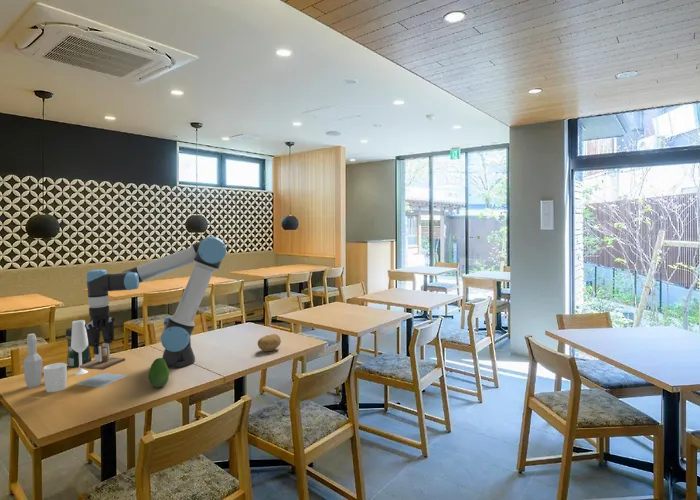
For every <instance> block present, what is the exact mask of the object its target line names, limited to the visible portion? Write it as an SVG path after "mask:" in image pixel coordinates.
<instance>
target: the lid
mask: <svg viewBox="0 0 700 500" xmlns="http://www.w3.org/2000/svg"><path fill="white" fill-rule="evenodd" d="M101 354H102V361H101V362H97V361H95V359H94V360H92V361H91V362H88V363H86V364H83V365H80V368H82V369H84V370H98V371H99V370H101V371H102V370H103V371H104V370H106V369H108V368H111V367H113V366H115V365H118V364H120V363H123V362H125V361H126V357H115V356H114V357H111V356H110V358H109V359H108V357H107V347H103V346H101Z"/></svg>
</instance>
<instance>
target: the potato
mask: <svg viewBox="0 0 700 500" xmlns="http://www.w3.org/2000/svg"><path fill="white" fill-rule="evenodd" d="M281 343H282V340H281V337H280V335H278V334H277V333H273V334H268V335H264V336H262V337H261V338H259V339H258V341H257V346H258V348H259V349H260V350H261V351H263V352H271V351H274V350H275V349H277V348H279V347H280V346H281Z"/></svg>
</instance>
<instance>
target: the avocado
mask: <svg viewBox="0 0 700 500" xmlns="http://www.w3.org/2000/svg"><path fill="white" fill-rule="evenodd" d="M147 378H148V381H149V383H150V384H151V386H153V387H155V388H162V387H164V386H165V385H166V384H167V383H168V381H169V378H170V370H169V367H167V364H166V362H165V360H164V359H163V358H162V357H158V358H155V360H153V362H152V364H151V365H150V368H149V371H148V377H147Z"/></svg>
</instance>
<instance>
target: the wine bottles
mask: <svg viewBox="0 0 700 500" xmlns="http://www.w3.org/2000/svg"><path fill="white" fill-rule="evenodd" d="M86 332H87V330H86ZM71 336H72V327H69V328H66V329H65V339H66V340H67V356H66V357H67V358H66V359H67V360H66V364H67V366H68V367H69V366H70V368H73V367H74V368H77V366H78V367H79V353H78V352H76V351H74V350H73V349H72V348H71ZM87 338H88V337H87ZM90 348H91V347H90V346H89V345H88V346H87V348H86V349H85V350H84V351H83V352H82V365H83V364H86V363H88V362H91V361H93V360H92V354H91V349H90Z"/></svg>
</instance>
